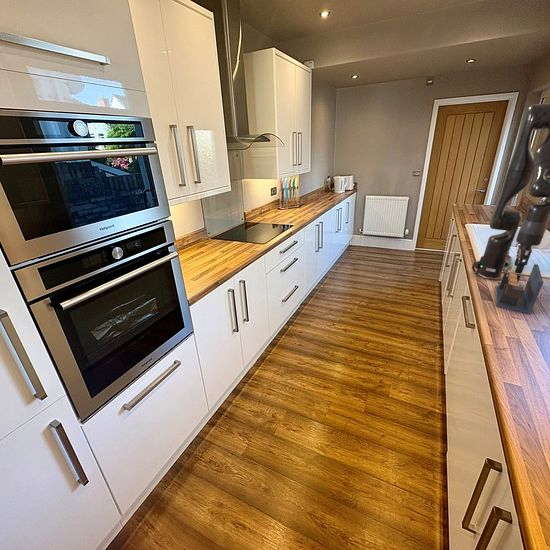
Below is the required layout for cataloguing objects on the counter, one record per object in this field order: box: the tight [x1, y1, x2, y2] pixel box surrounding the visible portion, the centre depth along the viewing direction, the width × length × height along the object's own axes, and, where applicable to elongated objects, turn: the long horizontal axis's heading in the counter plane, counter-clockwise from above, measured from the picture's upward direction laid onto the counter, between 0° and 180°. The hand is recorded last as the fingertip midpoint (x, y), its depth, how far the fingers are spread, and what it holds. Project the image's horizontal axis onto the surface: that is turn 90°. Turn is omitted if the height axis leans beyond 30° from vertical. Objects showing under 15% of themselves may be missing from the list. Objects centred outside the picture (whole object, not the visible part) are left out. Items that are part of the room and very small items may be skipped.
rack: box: [495, 263, 544, 315], centre depth 122 cm, size 20×11×14 cm, turn 145°
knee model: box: [503, 252, 515, 272], centre depth 157 cm, size 9×8×25 cm
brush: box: [505, 269, 525, 299], centre depth 121 cm, size 22×5×3 cm, turn 145°
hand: (517, 269), depth 119 cm, fingers open, 8 cm apart
